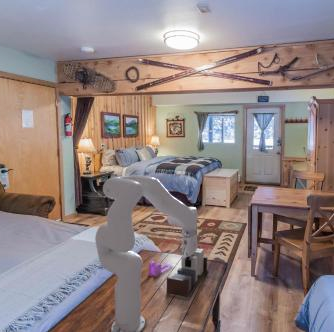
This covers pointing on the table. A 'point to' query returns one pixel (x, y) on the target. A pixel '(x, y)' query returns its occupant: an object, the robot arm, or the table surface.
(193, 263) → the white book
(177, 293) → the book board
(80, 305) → the table surface
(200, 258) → the white books
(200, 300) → the table surface
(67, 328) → the table surface
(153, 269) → the bracket
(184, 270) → the grey books
